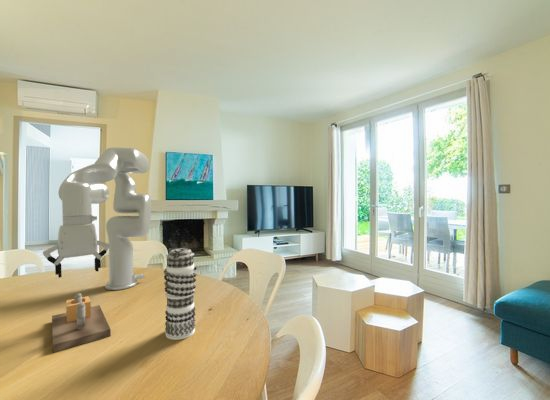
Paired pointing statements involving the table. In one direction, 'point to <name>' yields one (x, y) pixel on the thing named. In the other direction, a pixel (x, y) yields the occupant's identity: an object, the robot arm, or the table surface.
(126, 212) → the robot arm
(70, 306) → the collar
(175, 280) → the decorative candle
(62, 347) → the post board
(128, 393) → the table surface
